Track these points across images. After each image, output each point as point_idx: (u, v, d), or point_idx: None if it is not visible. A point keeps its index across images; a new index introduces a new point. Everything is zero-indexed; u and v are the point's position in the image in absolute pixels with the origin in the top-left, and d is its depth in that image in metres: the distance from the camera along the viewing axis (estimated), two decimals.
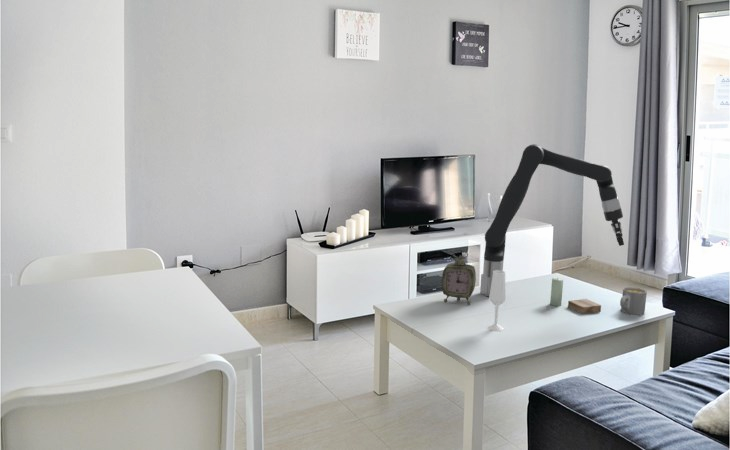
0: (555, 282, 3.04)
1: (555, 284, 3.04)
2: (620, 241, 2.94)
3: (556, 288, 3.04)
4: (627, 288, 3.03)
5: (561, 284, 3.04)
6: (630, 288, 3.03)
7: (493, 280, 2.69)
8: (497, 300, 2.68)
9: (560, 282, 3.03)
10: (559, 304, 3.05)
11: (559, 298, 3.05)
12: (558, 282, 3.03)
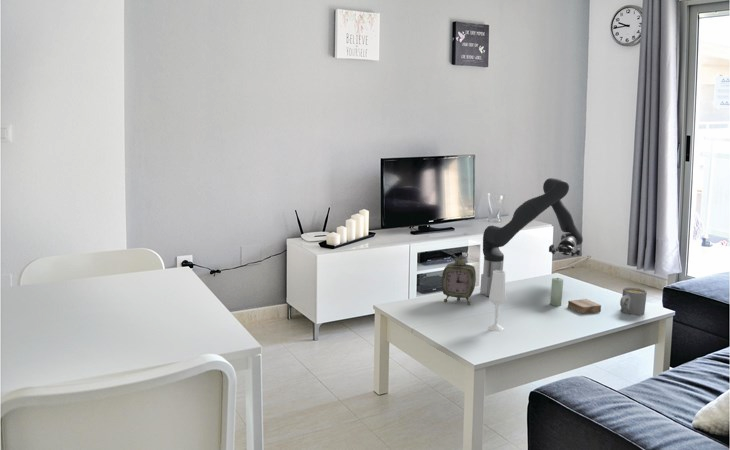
0: (555, 282, 3.04)
1: (555, 284, 3.04)
2: (574, 253, 3.13)
3: (556, 288, 3.04)
4: (627, 288, 3.03)
5: (561, 284, 3.04)
6: (630, 288, 3.03)
7: (493, 280, 2.69)
8: (497, 300, 2.68)
9: (560, 282, 3.03)
10: (559, 304, 3.05)
11: (559, 298, 3.05)
12: (558, 282, 3.03)
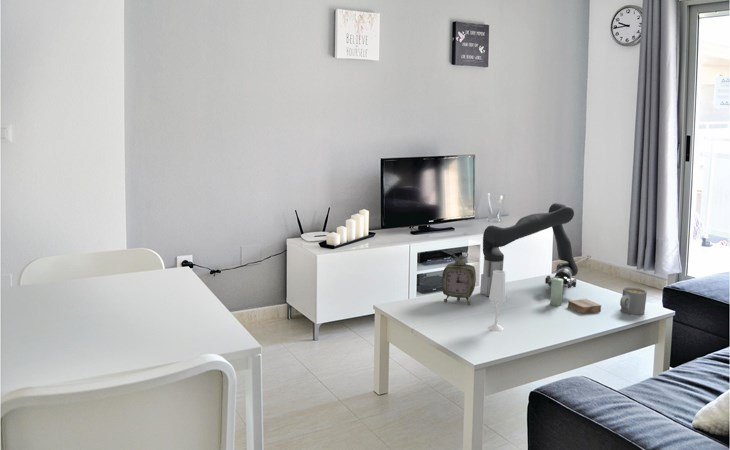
0: (555, 282, 3.04)
1: (555, 284, 3.04)
2: (571, 285, 3.14)
3: (556, 288, 3.04)
4: (627, 288, 3.03)
5: (561, 284, 3.04)
6: (630, 288, 3.03)
7: (493, 280, 2.69)
8: (497, 300, 2.68)
9: (560, 282, 3.03)
10: (559, 304, 3.05)
11: (559, 298, 3.05)
12: (558, 282, 3.03)
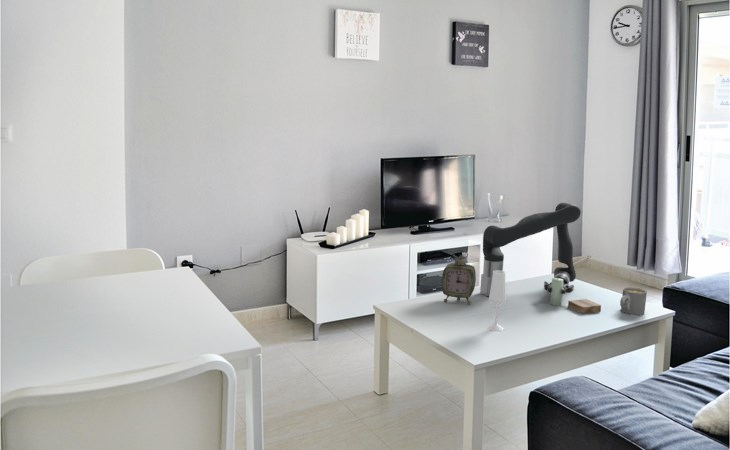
0: (555, 282, 3.04)
1: (555, 284, 3.04)
2: (565, 291, 3.04)
3: (556, 288, 3.04)
4: (627, 288, 3.03)
5: (561, 284, 3.04)
6: (630, 288, 3.03)
7: (493, 280, 2.69)
8: (497, 300, 2.68)
9: (560, 282, 3.03)
10: (559, 304, 3.05)
11: (559, 298, 3.05)
12: (558, 282, 3.03)
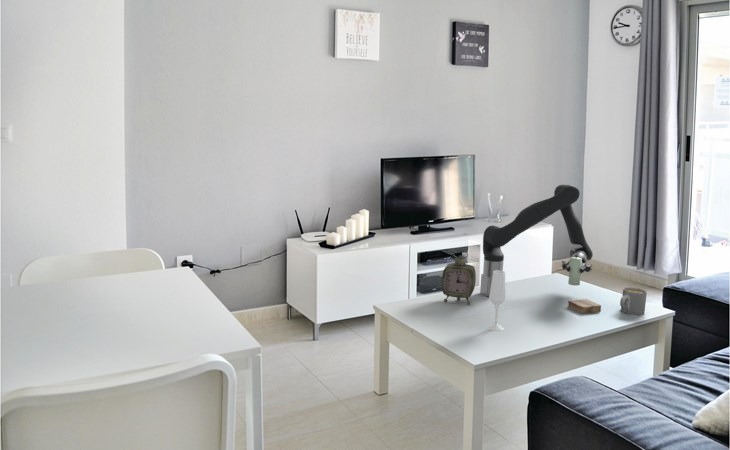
0: (574, 261, 2.99)
1: (574, 263, 2.99)
2: (584, 270, 2.99)
3: (574, 267, 2.99)
4: (627, 288, 3.03)
5: (580, 263, 2.98)
6: (630, 288, 3.03)
7: (493, 280, 2.69)
8: (497, 300, 2.68)
9: (579, 261, 2.98)
10: (578, 283, 3.00)
11: (578, 277, 3.00)
12: (577, 261, 2.98)
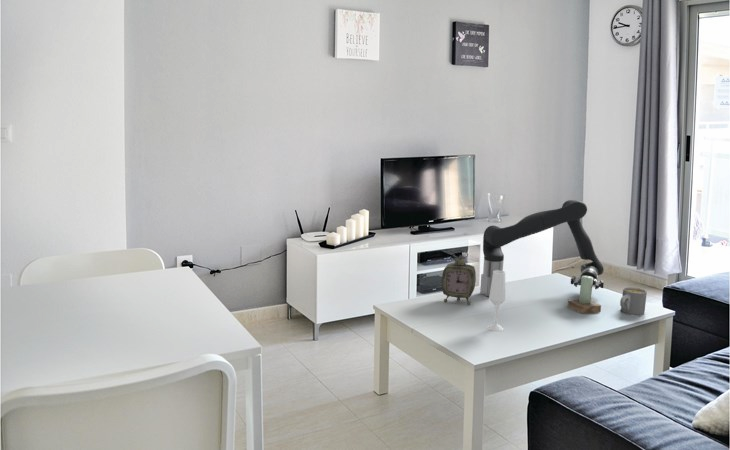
0: (585, 280, 2.97)
1: (585, 282, 2.97)
2: (598, 286, 2.97)
3: (585, 286, 2.97)
4: (627, 288, 3.03)
5: (591, 282, 2.97)
6: (630, 288, 3.03)
7: (493, 280, 2.69)
8: (497, 300, 2.68)
9: (590, 280, 2.97)
10: (588, 302, 2.99)
11: (588, 296, 2.98)
12: (588, 280, 2.97)
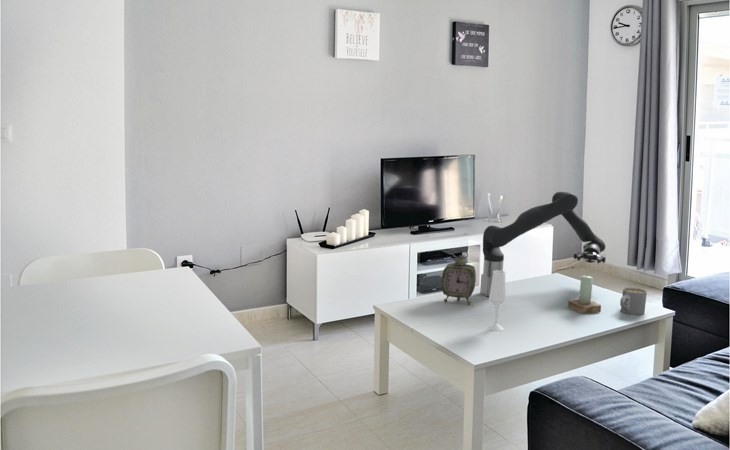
0: (584, 280, 2.97)
1: (584, 282, 2.97)
2: (600, 260, 3.09)
3: (585, 286, 2.97)
4: (627, 288, 3.03)
5: (590, 281, 2.97)
6: (630, 288, 3.03)
7: (493, 280, 2.69)
8: (497, 300, 2.68)
9: (590, 280, 2.97)
10: (588, 302, 2.99)
11: (588, 296, 2.98)
12: (587, 280, 2.97)
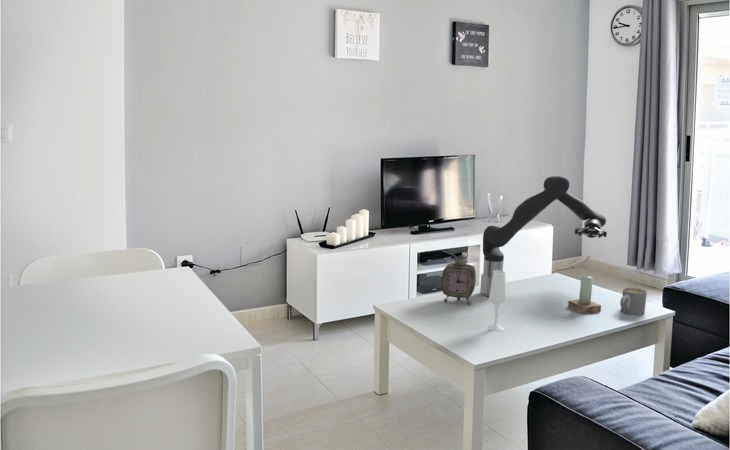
0: (585, 280, 2.97)
1: (585, 282, 2.97)
2: (602, 234, 3.08)
3: (585, 286, 2.97)
4: (627, 288, 3.03)
5: (591, 281, 2.97)
6: (630, 288, 3.03)
7: (493, 280, 2.69)
8: (497, 300, 2.68)
9: (590, 280, 2.97)
10: (588, 302, 2.99)
11: (588, 296, 2.98)
12: (588, 280, 2.97)
